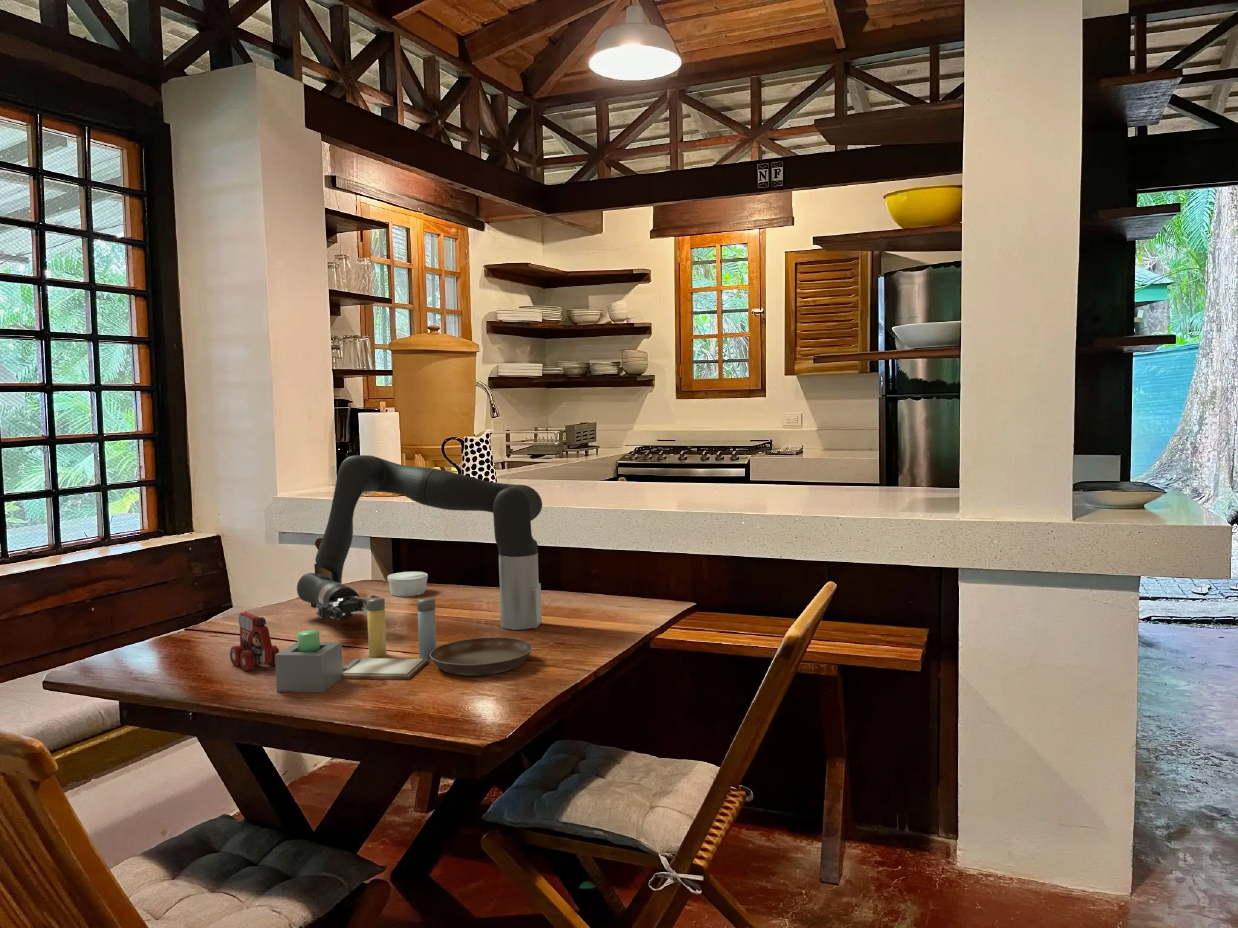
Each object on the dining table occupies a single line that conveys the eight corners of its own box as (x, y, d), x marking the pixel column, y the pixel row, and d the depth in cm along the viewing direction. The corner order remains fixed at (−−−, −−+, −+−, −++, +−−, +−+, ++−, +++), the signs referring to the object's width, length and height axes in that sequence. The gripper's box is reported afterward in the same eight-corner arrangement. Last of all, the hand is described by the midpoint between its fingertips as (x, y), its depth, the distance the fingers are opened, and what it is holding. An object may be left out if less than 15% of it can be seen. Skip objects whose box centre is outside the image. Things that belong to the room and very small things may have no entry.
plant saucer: (413, 663, 186) (412, 647, 186) (500, 645, 199) (500, 630, 199) (460, 687, 170) (459, 670, 170) (552, 666, 183) (551, 650, 182)
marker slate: (439, 653, 193) (437, 597, 192) (433, 658, 189) (431, 601, 188) (422, 653, 193) (420, 597, 192) (416, 658, 189) (414, 601, 188)
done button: (323, 650, 174) (322, 630, 174) (314, 656, 170) (313, 635, 170) (303, 650, 175) (303, 630, 174) (294, 656, 171) (293, 635, 170)
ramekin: (418, 598, 248) (417, 579, 247) (380, 597, 250) (380, 578, 250) (434, 589, 259) (434, 571, 258) (398, 589, 261) (397, 570, 261)
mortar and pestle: (341, 604, 242) (338, 537, 240) (318, 609, 237) (315, 540, 236) (328, 601, 246) (325, 535, 245) (306, 605, 241) (303, 538, 240)
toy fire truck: (251, 675, 180) (249, 623, 179) (226, 663, 189) (224, 613, 188) (285, 667, 185) (283, 617, 184) (259, 655, 194) (257, 608, 193)
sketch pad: (428, 661, 187) (428, 656, 187) (408, 679, 175) (408, 673, 175) (358, 660, 188) (358, 655, 188) (334, 678, 177) (334, 672, 177)
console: (342, 677, 177) (341, 642, 176) (322, 692, 168) (321, 655, 167) (299, 676, 178) (297, 641, 177) (276, 691, 169) (274, 654, 169)
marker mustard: (389, 652, 194) (387, 597, 193) (382, 657, 190) (380, 601, 189) (372, 652, 194) (370, 597, 193) (365, 657, 191) (363, 601, 190)
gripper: (307, 588, 210) (326, 600, 197) (367, 580, 218) (390, 591, 204) (308, 620, 211) (328, 634, 197) (368, 611, 219) (391, 624, 205)
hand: (359, 612), depth 201 cm, fingers open, 8 cm apart
